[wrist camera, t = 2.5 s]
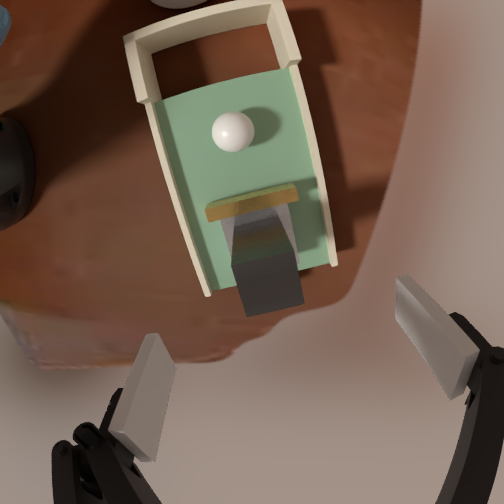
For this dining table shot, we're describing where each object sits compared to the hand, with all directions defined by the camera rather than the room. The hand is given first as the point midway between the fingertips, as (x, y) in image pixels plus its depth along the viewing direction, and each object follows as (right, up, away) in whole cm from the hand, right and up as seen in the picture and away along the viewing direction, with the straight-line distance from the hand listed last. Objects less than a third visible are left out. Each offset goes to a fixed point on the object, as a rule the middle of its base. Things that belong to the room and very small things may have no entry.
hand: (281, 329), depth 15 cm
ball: (-3, +14, +8) cm, 17 cm away
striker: (0, +4, +14) cm, 15 cm away
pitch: (-3, +14, +12) cm, 19 cm away
